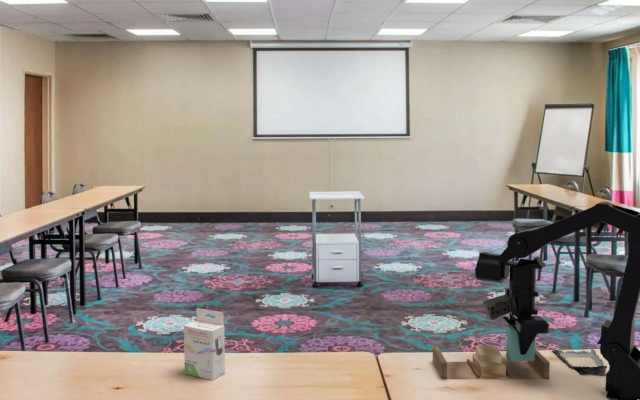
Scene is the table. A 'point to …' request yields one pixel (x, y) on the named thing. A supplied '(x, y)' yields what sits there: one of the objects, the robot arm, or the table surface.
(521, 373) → the rack
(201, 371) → the ink box
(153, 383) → the table surface
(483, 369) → the offcut low
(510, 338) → the teal rectangular block
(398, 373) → the table surface
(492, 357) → the offcut top
